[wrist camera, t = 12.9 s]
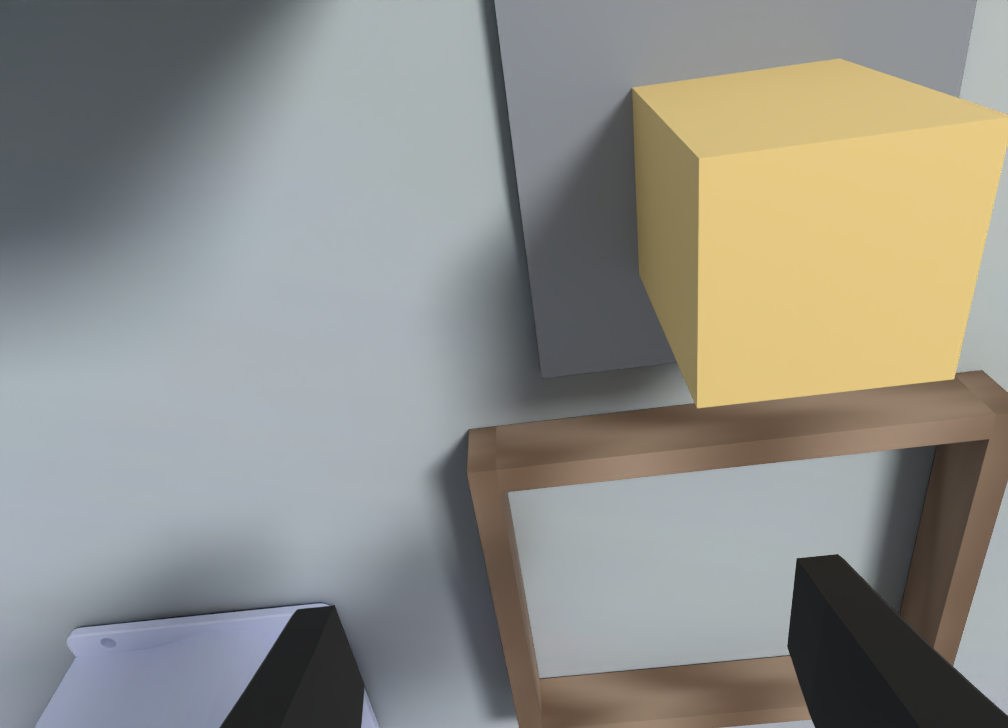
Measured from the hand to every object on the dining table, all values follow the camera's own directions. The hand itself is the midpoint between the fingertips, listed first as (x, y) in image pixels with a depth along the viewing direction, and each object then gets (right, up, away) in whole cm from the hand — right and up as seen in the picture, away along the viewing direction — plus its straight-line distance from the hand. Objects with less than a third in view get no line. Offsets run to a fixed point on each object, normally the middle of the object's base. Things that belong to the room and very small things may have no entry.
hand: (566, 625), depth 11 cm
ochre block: (+4, +9, +5) cm, 11 cm away
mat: (+4, +9, +6) cm, 11 cm away
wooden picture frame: (+6, -2, +12) cm, 14 cm away
